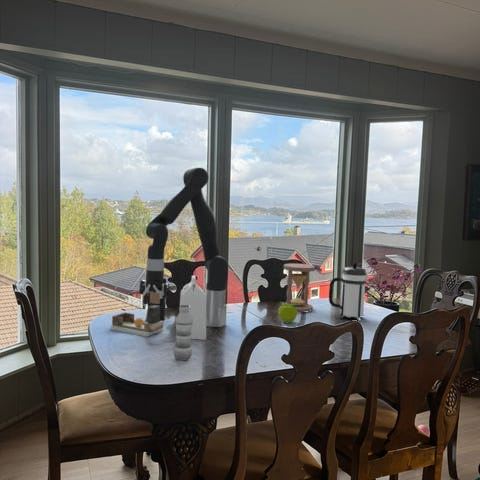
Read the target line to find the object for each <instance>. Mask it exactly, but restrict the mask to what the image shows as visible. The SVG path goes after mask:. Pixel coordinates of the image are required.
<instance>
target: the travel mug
mask: <svg viewBox="0 0 480 480" xmlns="http://www.w3.org/2000/svg"><path fill="white" fill-rule="evenodd" d="M163 284H167V278H164V279H163ZM162 289H163V291H164V288H163V287H162ZM149 294H150V295H149V297H150V298H149V307H150V306H153V305H158V306H160V299H161V298H160V296H159V295H158V294H157V292H149ZM166 306H167V298H165V305H164V306H163V307H160V321H163V322H164V321H165V319H166Z"/></svg>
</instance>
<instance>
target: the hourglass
mask: <svg viewBox="0 0 480 480" xmlns="http://www.w3.org/2000/svg"><path fill="white" fill-rule="evenodd" d="M283 269H284V270H286V271H287V273H288V274H287V281H286V284H287V290H286V302H285V303H286V304H290V305H291V304H297V305H294V306H295V308H296V309H297V312H304V311H310V310H312V309H313V310H314V307H313V305H312V304H308V301H309V294H310V291H309V284H310V273H311V272H314V271H316V266H315V265H312V264H305V263H285V264H283ZM293 272H298V273H293ZM299 272H300V273H299ZM301 272H302V273H301ZM293 282H294V284H295V285H296V289H298V290H299V289H300V288H301V285H302V284H303V283H304V289H303V299H301V298H299V297H295V298H293V299H292V296H293V292H292V286H293ZM281 305H284V304H283V303H281ZM313 310H312V311H313Z"/></svg>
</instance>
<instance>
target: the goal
mask: <svg viewBox="0 0 480 480" xmlns="http://www.w3.org/2000/svg"><path fill="white" fill-rule="evenodd" d="M111 319H112V320H111V322H112V323H111V326H112V325H115V326H120V327H121V325H123V322H125V321H126V322H131V323H134V320H135V313H130V312H122V313H118V314H115V315H112V318H111Z"/></svg>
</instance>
